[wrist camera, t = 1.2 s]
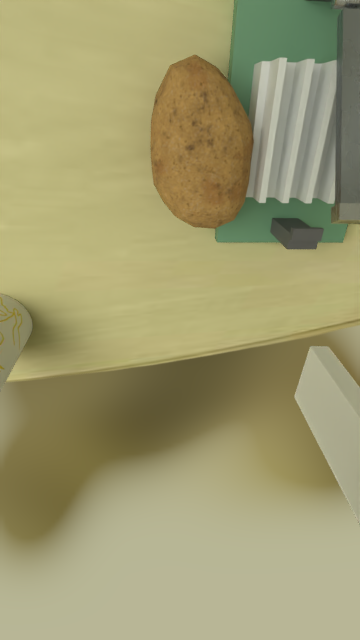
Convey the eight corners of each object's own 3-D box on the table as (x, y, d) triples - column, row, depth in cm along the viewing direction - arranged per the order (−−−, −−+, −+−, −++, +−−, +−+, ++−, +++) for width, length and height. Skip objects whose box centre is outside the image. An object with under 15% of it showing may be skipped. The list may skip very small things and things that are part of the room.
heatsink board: (238, -48, 28) (265, -96, 22) (410, -36, 30) (486, -78, 23) (215, 238, 41) (228, 262, 34) (336, 238, 42) (372, 262, 35)
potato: (234, 51, 32) (257, 34, 25) (248, 205, 39) (268, 225, 32) (131, 75, 32) (125, 66, 25) (164, 223, 39) (166, 247, 33)
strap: (330, -4, 25) (341, -21, 24) (369, -2, 26) (381, -19, 24) (328, 224, 26) (338, 219, 25) (365, 224, 27) (377, 220, 25)
